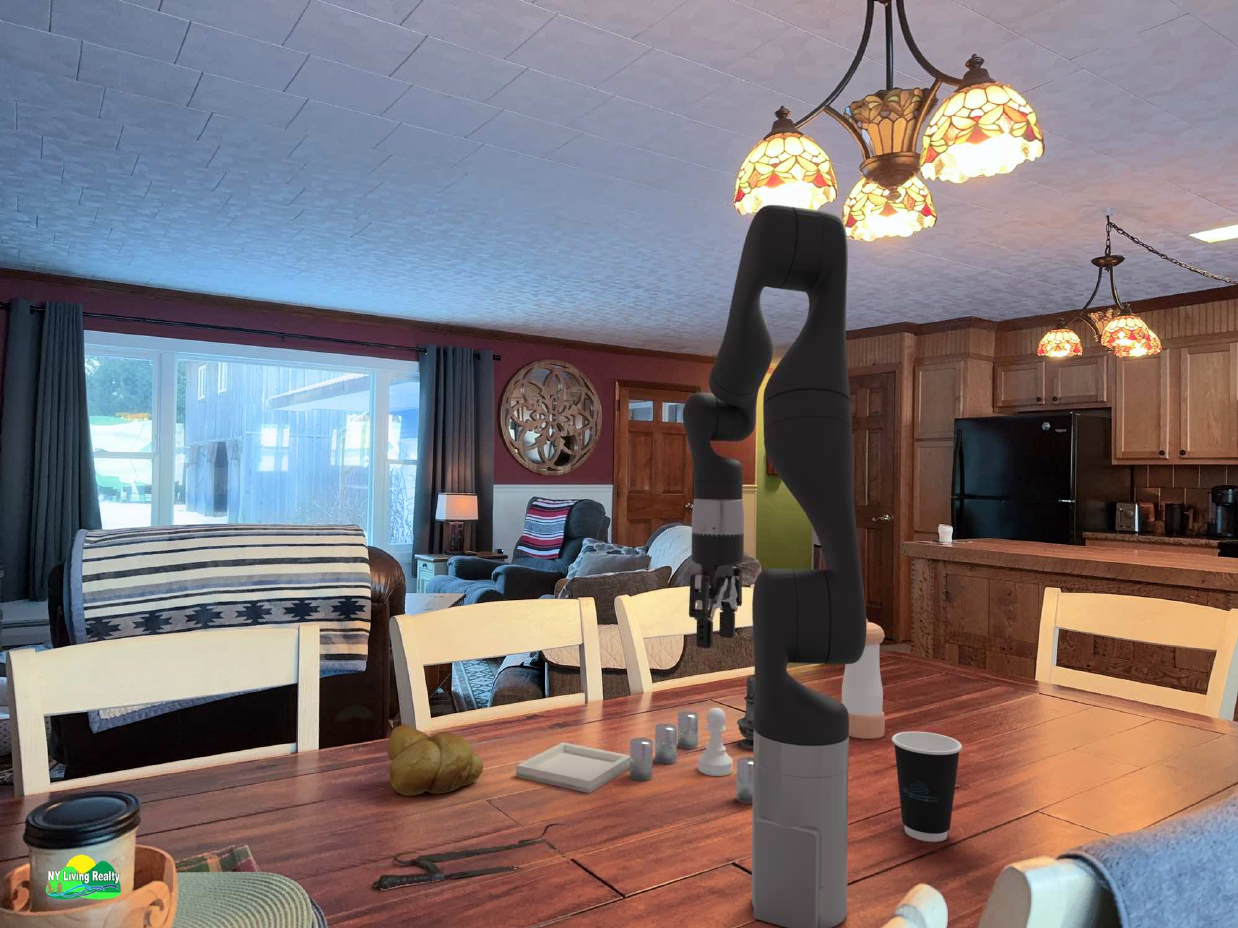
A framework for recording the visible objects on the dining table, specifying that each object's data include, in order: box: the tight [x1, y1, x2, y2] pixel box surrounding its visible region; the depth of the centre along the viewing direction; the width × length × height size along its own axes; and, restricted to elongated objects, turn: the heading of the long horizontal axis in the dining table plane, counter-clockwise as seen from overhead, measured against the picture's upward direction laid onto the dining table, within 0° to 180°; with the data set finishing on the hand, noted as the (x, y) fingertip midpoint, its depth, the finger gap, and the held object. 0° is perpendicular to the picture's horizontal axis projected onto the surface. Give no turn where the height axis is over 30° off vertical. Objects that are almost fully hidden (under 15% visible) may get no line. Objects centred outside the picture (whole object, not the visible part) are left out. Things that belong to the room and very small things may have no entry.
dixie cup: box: [891, 731, 963, 843], centre depth 101 cm, size 8×8×11 cm
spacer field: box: [629, 710, 753, 805], centre depth 122 cm, size 19×19×5 cm
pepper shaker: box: [841, 618, 886, 740], centre depth 141 cm, size 7×7×19 cm
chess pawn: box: [697, 707, 734, 777], centre depth 122 cm, size 5×5×9 cm
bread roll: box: [386, 723, 484, 797], centre depth 114 cm, size 13×10×8 cm
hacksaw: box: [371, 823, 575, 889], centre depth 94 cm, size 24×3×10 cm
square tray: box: [515, 742, 630, 794], centre depth 120 cm, size 12×12×2 cm
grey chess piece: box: [736, 671, 755, 751], centre depth 134 cm, size 6×6×12 cm
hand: (716, 642), depth 122 cm, fingers open, 8 cm apart
